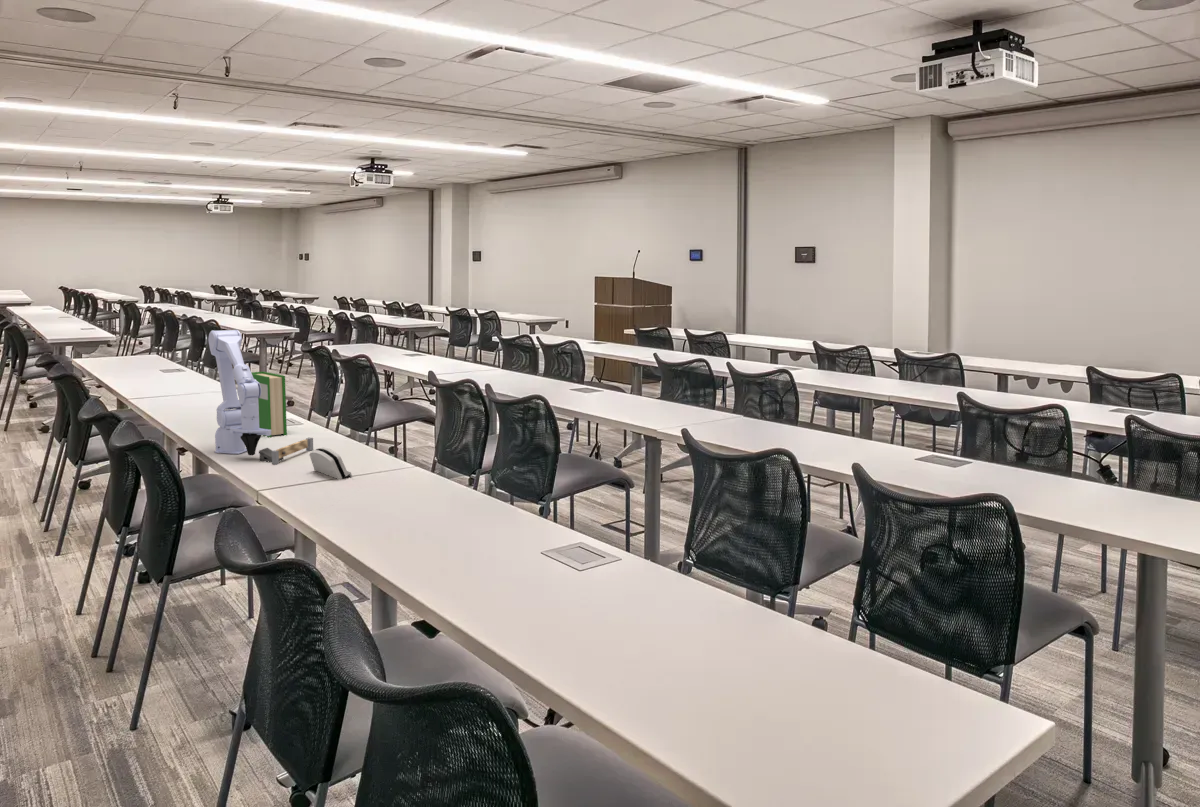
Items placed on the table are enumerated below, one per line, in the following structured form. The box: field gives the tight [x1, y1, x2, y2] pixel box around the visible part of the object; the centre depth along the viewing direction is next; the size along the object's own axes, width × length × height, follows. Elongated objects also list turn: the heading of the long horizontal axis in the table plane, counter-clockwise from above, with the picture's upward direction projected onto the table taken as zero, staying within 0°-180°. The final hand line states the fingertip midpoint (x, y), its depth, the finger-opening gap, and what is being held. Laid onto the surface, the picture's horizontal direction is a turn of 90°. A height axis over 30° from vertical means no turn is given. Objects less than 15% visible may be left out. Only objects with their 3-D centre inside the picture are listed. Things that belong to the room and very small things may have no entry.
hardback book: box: [251, 371, 288, 438], centre depth 344 cm, size 18×7×24 cm, turn 48°
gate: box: [275, 438, 308, 458], centre depth 305 cm, size 21×2×3 cm, turn 170°
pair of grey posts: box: [271, 437, 314, 465], centre depth 305 cm, size 2×25×4 cm, turn 170°
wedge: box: [258, 447, 284, 463], centre depth 298 cm, size 6×5×4 cm
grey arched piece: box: [308, 446, 353, 480], centre depth 280 cm, size 17×5×10 cm, turn 45°
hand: (251, 454), depth 300 cm, fingers closed
